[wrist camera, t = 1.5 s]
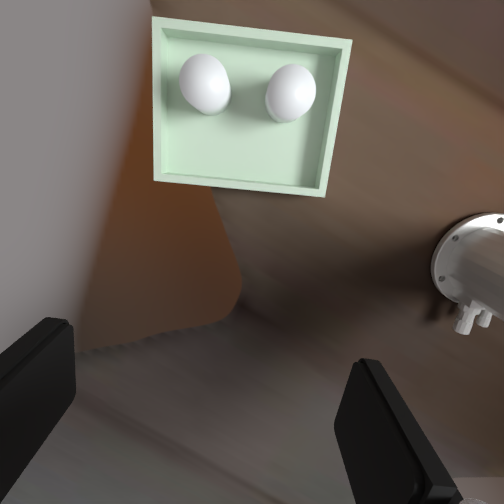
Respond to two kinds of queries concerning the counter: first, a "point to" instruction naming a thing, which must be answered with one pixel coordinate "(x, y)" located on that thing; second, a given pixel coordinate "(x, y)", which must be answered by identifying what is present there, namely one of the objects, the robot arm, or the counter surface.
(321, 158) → the tray
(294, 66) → the grey rounded piece
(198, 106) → the white egg
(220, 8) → the counter surface
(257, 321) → the counter surface
